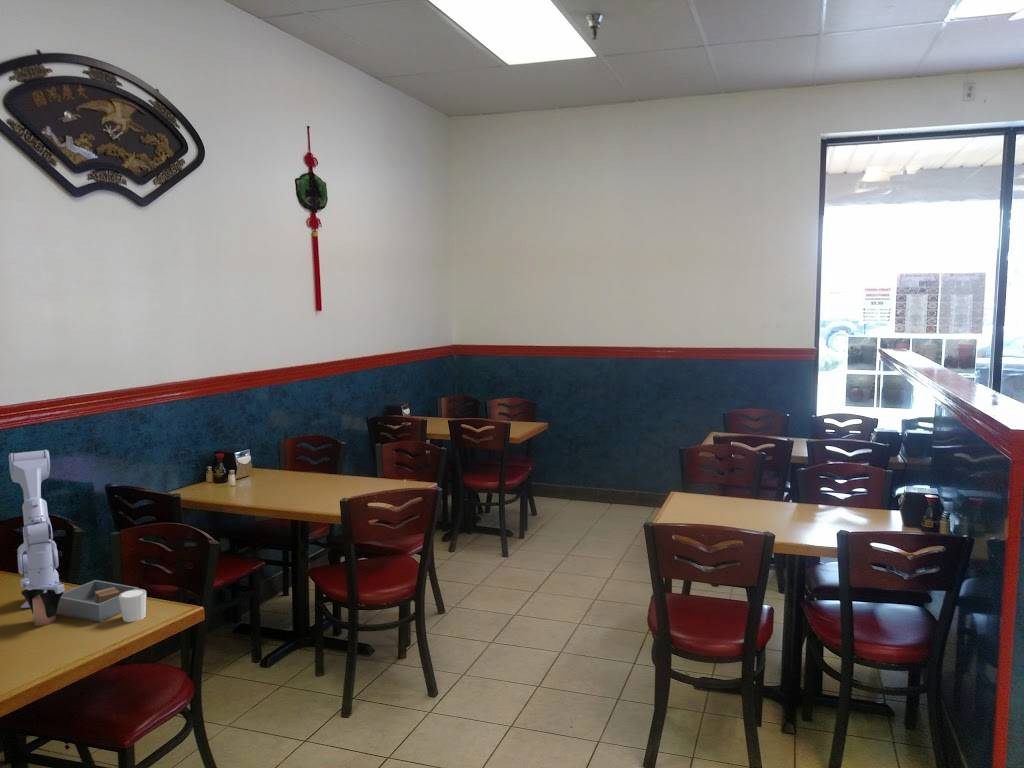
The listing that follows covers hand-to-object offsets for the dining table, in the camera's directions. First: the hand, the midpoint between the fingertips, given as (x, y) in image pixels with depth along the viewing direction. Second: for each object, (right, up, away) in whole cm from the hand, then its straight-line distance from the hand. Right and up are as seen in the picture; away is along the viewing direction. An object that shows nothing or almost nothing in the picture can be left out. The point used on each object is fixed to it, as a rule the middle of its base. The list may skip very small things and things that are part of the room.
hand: (44, 614), depth 208 cm
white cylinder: (+23, -2, +2) cm, 23 cm away
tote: (+10, -1, +9) cm, 13 cm away
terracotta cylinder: (0, -2, 0) cm, 2 cm away
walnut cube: (+14, 0, +7) cm, 15 cm away
